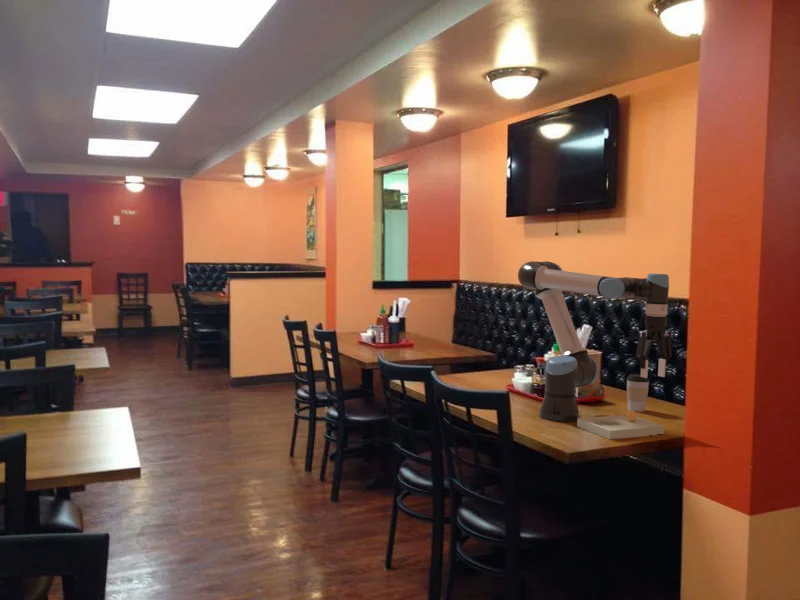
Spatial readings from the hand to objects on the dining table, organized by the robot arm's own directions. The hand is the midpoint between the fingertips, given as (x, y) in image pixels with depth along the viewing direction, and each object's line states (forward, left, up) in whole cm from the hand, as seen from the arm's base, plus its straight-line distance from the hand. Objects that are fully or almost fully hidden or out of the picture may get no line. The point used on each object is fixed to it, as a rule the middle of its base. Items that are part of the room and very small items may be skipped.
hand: (652, 376), depth 242 cm
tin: (-43, +6, -19) cm, 48 cm away
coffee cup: (-25, +16, -19) cm, 35 cm away
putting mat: (0, -14, -19) cm, 24 cm away
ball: (0, -9, -14) cm, 17 cm away
